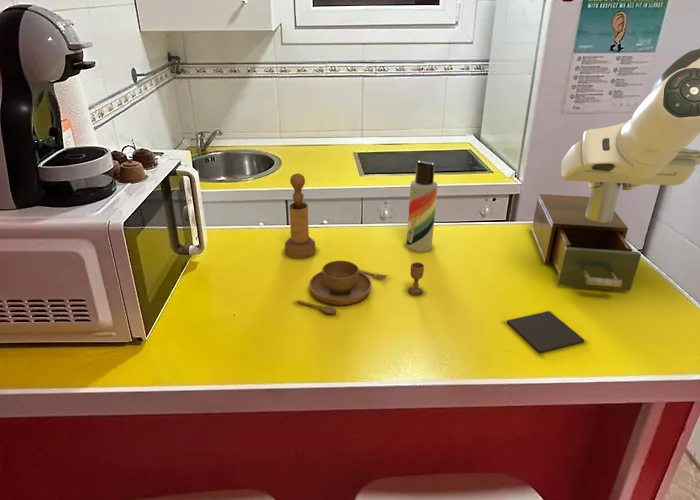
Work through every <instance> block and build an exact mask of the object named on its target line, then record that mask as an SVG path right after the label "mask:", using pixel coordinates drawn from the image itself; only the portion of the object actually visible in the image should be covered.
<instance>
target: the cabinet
mask: <svg viewBox="0 0 700 500" xmlns="http://www.w3.org/2000/svg"><path fill="white" fill-rule="evenodd" d="M589 197H590V196H581V195H580V196H579V195H563V194H546V193H545V194H544V193H538V194H537V199H536V206H535V210H534V216H533V219H532V220H533V222H532V225H531V234H532V236H533V238H534V241H535V244H536V246H537V249H538V251H539V254H540V257H541V259H542V262H543V264H544V265H548V266H549V265H550V266H554V263H553V261H552V259H551V256H550V254H551V249H552V244H553V240H554V235H555V230H556V227H564V228H579V229H595V230H610V231H619V232H620V233H621V235H622V236H623V237H624V239H625V240H626V238H627V234H628V230H629V227H628V226H627V225H626V223H625V222H624V220H622V218H621V217H620V216H619V214H618V213H617V212H616V210H615V211H614V215H613V219H612V221H611V222H607V223H601V222H595V221H592V220H589V219H588V218H586V216H585V215H586V210H587V206H588V202H589Z"/></svg>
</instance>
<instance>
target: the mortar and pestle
mask: <svg viewBox="0 0 700 500" xmlns="http://www.w3.org/2000/svg"><path fill="white" fill-rule="evenodd" d="M289 183H290V184H291V187H292V188H293V191H294V193H293V194H292V199H293V202H292V203H290V204H289V206H288V208H289V227H290V237H289V238H288V239H287V240H286V241H285V243H284V253H285V255H286V256H287V257H288V258H291V259H296V260H303V259H309V258H311V257H313V256H314V255H315V254H316V251H317V249H316V240H314V239H313V238H312V237H310V232H309V231H310V230H309V205H308V203H306V202H304V196H305V194H304V193H302V190H303V188H304V186H305V184H306V178H305V176H304V175H303V174H302V173H299V172H298V173H297V172H296V173H294V174H292V175H291V177H290V179H289Z"/></svg>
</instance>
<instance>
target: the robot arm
mask: <svg viewBox="0 0 700 500" xmlns="http://www.w3.org/2000/svg"><path fill="white" fill-rule="evenodd" d="M631 117H632V118H630V119H628V120H627V121H626V122H622V123H618V124H615V125H611V126H610V125H609V126H606V127H599V128H590V129H587V130H585V131H584V132H583V135H582V140H580V141H578V142H576V143H574V145H572V146H571V148H569V150H568V151H567V152H566V154H565V155H564V157H563V158H562V159H561V167H560V171H561V173H560V174H561V178H562V179H563V180H565V181H566V182H567V181H570V182H571V181H572V182H588V189H598V187H600V182H610V183H622V184H621V189H622V191H632V190H634V188H638V187H641V186H644V185H655V186H679V185H682V184H684V183H686V181H687V180H689V178H690V177H691V176H692V175H693V173H694V172H695V169H696V166H699V165H700V150H699V149H691V148H687V146H689V145H690V144H691V143H692V142H693V141H694V140H695V139H696V138H697V137H698V136H699V135H700V48H696V49H692V50H690V51H688V52H686V53H685V54H683V55H682V56H681V57H678V59H676V60H675V61H674V62H673V63H672V64H670V66H669V67H668V68H667V69H665V70H664V72H663V73H662V74H661V75H660V77H659V78H658V79H657V80H656V82H655V83H654V84H653V86H652V87H651V90H650V92H649V94H648V95H647V96H646V97H645V98H644V99H643V100H642V101H641V103H640V104H639V105H638V107H637V108H636V109H635V111H634V113H633V114H632V116H631Z"/></svg>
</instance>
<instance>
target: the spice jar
mask: <svg viewBox="0 0 700 500" xmlns="http://www.w3.org/2000/svg"><path fill="white" fill-rule="evenodd" d="M621 189H622V183H610V182H600V187H598V189H592V188H590V193H589V196H588V197H589V202H588V206H587V210H586V215H585V216H586V218H588V219H589V220H592V221H595V222H601V223H607V222H611V221H612V219H613V215H614V211H615V212H616V207H617V202H618V199H619V197H620V196H619V195H620V192H621Z"/></svg>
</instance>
